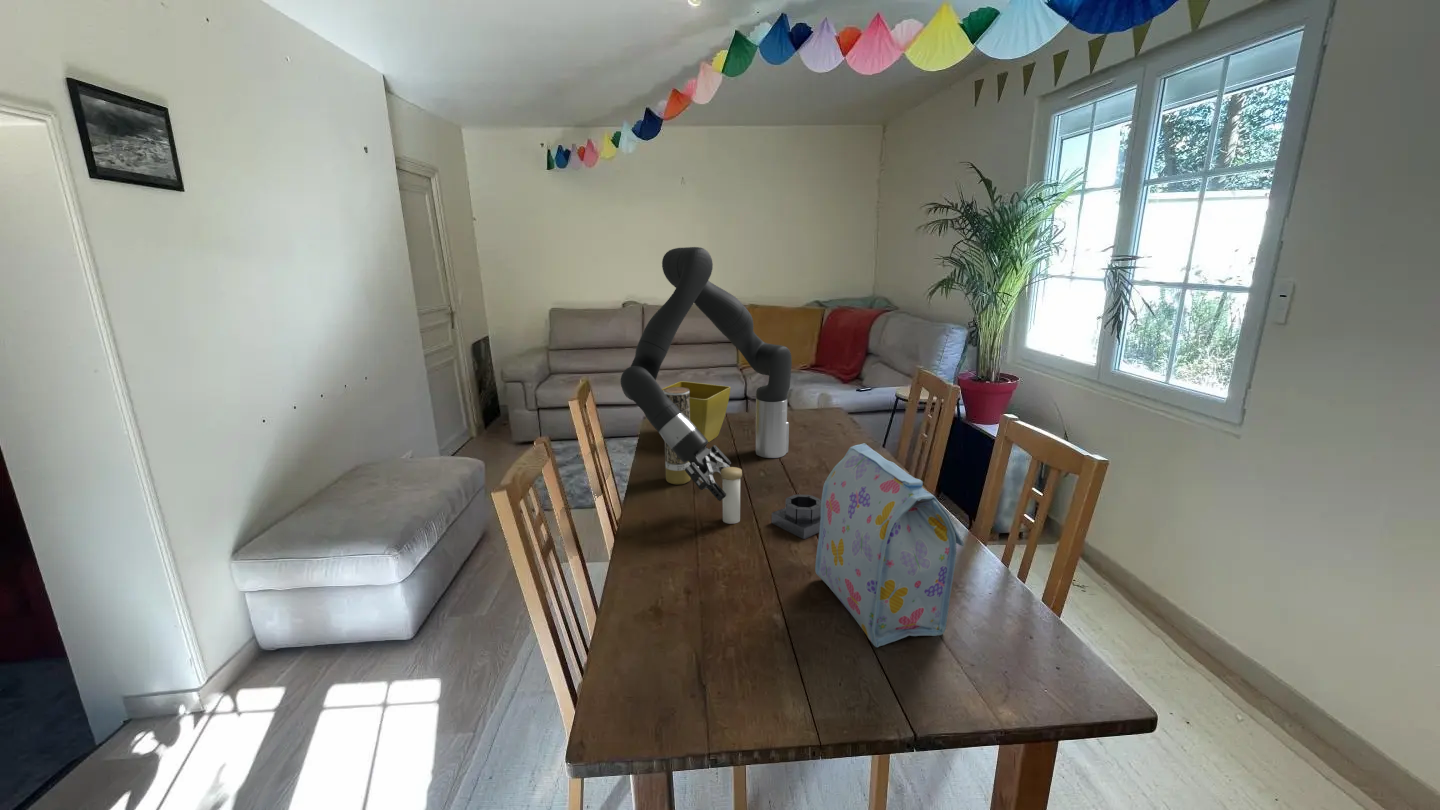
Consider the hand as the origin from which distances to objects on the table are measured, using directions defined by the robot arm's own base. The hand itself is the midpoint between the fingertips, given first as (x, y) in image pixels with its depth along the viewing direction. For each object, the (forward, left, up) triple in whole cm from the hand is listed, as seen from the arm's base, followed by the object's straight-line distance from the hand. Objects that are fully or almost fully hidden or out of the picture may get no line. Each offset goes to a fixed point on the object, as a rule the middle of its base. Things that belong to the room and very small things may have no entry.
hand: (730, 491), depth 132 cm
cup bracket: (-11, +12, -7) cm, 18 cm away
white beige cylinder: (0, 0, -7) cm, 7 cm away
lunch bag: (+1, +42, -7) cm, 43 cm away
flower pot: (-28, -53, -7) cm, 60 cm away
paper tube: (-4, -27, -7) cm, 28 cm away
